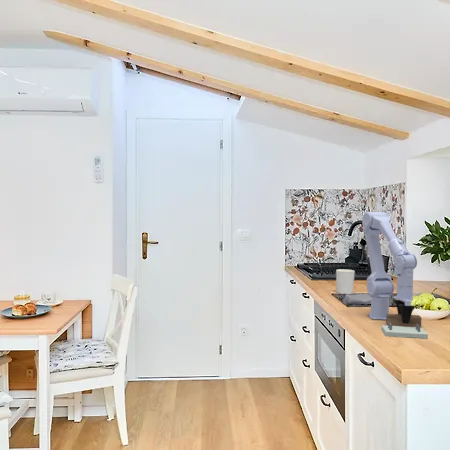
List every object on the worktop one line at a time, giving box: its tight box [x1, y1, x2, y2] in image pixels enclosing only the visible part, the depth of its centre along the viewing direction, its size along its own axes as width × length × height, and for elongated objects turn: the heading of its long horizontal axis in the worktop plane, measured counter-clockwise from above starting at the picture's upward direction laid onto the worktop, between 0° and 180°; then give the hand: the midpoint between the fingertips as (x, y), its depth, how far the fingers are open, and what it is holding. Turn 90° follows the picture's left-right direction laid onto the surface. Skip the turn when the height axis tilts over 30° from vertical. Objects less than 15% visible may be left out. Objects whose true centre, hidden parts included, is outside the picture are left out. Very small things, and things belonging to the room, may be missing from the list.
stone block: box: [344, 293, 371, 305], centre depth 230 cm, size 12×5×10 cm
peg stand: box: [381, 322, 429, 339], centre depth 173 cm, size 10×14×4 cm
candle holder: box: [335, 268, 356, 295], centre depth 257 cm, size 10×10×12 cm
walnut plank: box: [385, 313, 422, 328], centre depth 184 cm, size 4×12×4 cm, turn 80°
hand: (403, 321), depth 184 cm, fingers open, 7 cm apart
